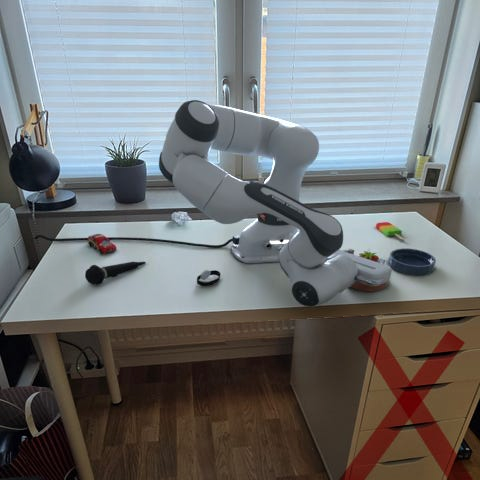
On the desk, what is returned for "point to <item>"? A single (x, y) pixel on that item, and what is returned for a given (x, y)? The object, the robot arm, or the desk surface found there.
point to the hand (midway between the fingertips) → (366, 256)
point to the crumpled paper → (180, 217)
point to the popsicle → (389, 229)
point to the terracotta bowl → (368, 288)
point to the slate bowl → (412, 261)
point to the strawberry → (369, 256)
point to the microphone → (109, 271)
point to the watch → (205, 275)
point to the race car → (101, 244)
